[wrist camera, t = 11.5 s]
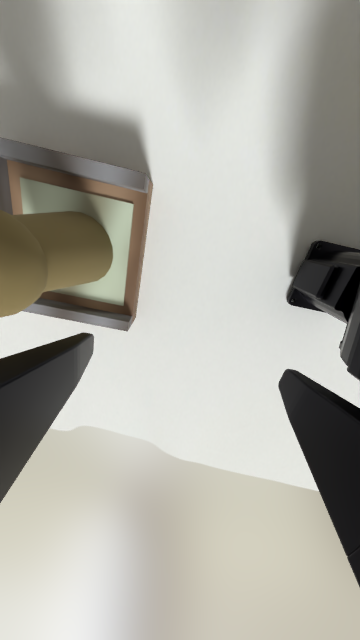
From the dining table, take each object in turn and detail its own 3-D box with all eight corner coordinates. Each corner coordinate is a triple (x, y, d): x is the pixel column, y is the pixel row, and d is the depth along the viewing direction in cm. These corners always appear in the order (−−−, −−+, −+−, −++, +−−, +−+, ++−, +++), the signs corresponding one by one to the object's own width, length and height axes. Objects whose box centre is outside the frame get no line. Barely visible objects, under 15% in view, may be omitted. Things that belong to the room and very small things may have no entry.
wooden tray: (152, 184, 17) (145, 173, 14) (135, 317, 22) (127, 331, 19) (12, 150, 17) (-29, 130, 13) (27, 296, 22) (0, 306, 18)
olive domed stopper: (84, 295, 19) (-26, 362, 9) (30, 245, 17) (-179, 258, 7) (127, 254, 18) (51, 279, 8) (73, 193, 16) (-122, 120, 6)
